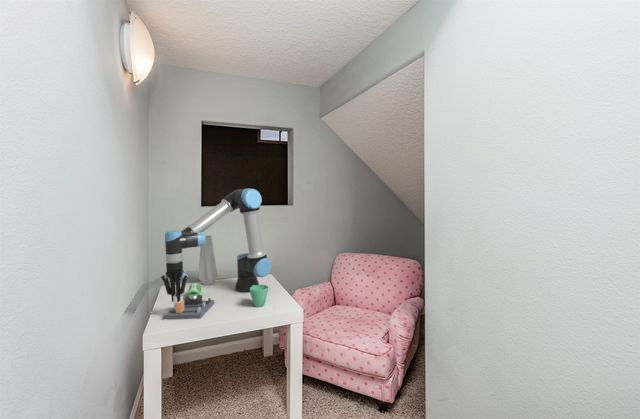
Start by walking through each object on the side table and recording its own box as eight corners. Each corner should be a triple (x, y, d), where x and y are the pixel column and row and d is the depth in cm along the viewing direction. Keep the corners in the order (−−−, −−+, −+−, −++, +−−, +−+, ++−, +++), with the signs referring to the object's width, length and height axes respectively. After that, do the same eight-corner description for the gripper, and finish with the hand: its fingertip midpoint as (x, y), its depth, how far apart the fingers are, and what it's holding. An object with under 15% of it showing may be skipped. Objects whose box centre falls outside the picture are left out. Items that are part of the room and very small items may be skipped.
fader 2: (184, 310, 158) (184, 299, 157) (181, 313, 154) (180, 302, 153) (179, 310, 157) (179, 299, 157) (176, 313, 153) (175, 302, 153)
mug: (271, 306, 166) (271, 288, 166) (254, 310, 161) (253, 291, 161) (261, 299, 179) (260, 282, 178) (244, 302, 173) (244, 285, 173)
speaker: (200, 302, 175) (199, 289, 175) (186, 304, 173) (185, 291, 172) (201, 293, 192) (201, 281, 191) (189, 295, 189) (188, 283, 189)
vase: (221, 281, 218) (219, 235, 217) (211, 286, 207) (209, 237, 205) (205, 280, 221) (204, 235, 219) (195, 285, 210) (193, 237, 208)
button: (199, 300, 171) (199, 293, 171) (196, 302, 167) (196, 296, 167) (191, 300, 171) (191, 294, 171) (188, 303, 167) (187, 296, 167)
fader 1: (183, 305, 164) (182, 295, 164) (180, 308, 160) (179, 298, 160) (178, 305, 164) (178, 295, 164) (175, 308, 160) (175, 298, 160)
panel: (214, 303, 173) (213, 294, 173) (200, 318, 152) (200, 308, 152) (181, 304, 172) (181, 295, 172) (163, 319, 151) (163, 309, 151)
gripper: (190, 259, 158) (192, 304, 159) (164, 260, 158) (167, 305, 159) (184, 262, 151) (186, 310, 152) (157, 263, 150) (159, 310, 152)
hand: (176, 307), depth 155 cm, fingers closed
